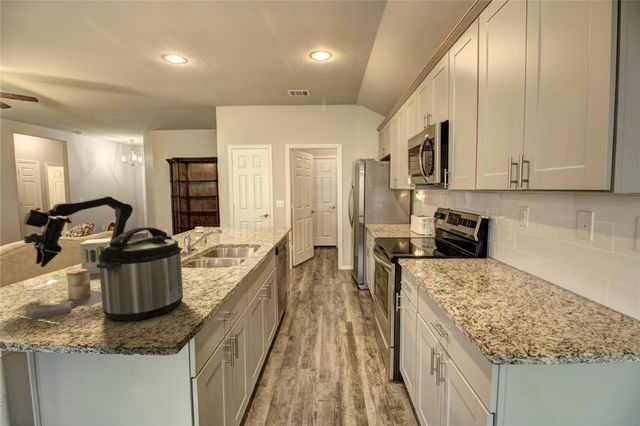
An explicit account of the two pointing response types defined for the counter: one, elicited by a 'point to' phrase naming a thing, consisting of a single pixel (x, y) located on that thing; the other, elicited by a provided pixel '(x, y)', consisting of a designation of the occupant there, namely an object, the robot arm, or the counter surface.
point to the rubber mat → (86, 299)
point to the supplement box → (92, 254)
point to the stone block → (51, 310)
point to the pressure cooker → (140, 275)
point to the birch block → (78, 283)
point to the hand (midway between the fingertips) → (39, 265)
